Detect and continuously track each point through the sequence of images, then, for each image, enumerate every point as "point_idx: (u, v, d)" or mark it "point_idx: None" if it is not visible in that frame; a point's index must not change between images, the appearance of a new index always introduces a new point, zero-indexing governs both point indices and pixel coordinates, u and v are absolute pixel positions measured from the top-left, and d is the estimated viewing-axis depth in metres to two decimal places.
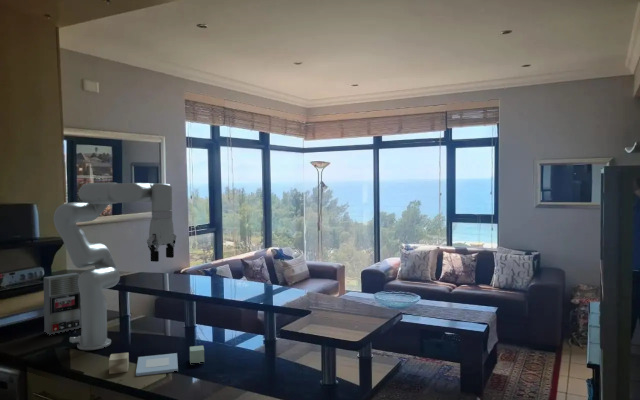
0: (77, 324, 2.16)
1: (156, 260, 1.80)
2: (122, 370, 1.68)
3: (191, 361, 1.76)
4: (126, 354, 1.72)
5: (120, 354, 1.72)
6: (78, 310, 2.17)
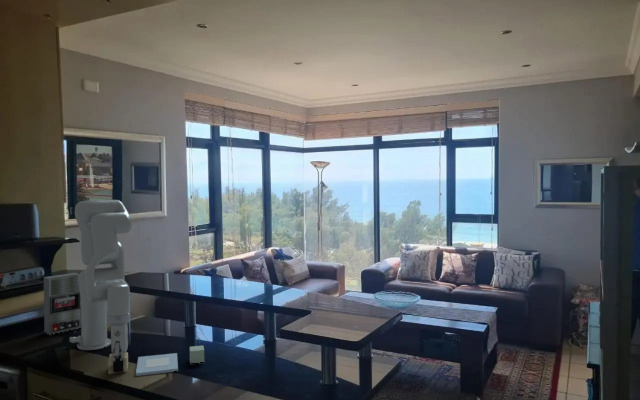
0: (77, 324, 2.16)
1: None
2: None
3: (191, 361, 1.76)
4: (125, 354, 1.72)
5: (119, 354, 1.72)
6: (78, 310, 2.17)
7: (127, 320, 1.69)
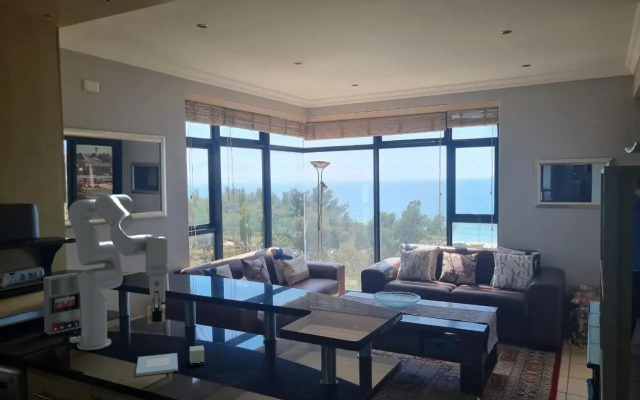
0: (77, 324, 2.16)
1: None
2: None
3: (191, 361, 1.76)
4: (163, 305, 1.76)
5: None
6: (78, 310, 2.17)
7: (165, 271, 1.72)
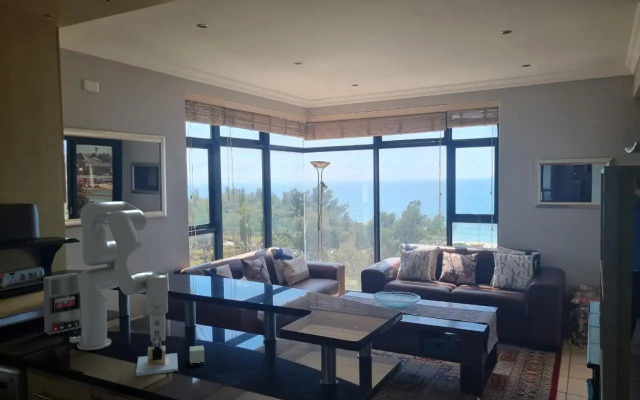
0: (77, 324, 2.16)
1: None
2: (160, 362, 1.72)
3: (191, 361, 1.76)
4: (163, 347, 1.76)
5: None
6: (78, 310, 2.17)
7: (165, 310, 1.73)
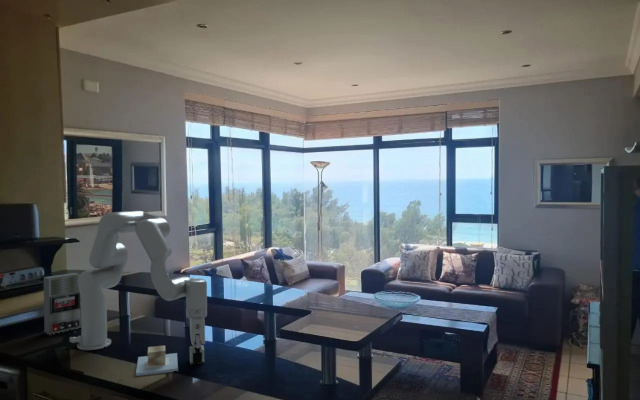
0: (77, 324, 2.16)
1: None
2: (160, 362, 1.72)
3: (191, 361, 1.76)
4: (163, 347, 1.76)
5: (157, 347, 1.76)
6: (78, 310, 2.17)
7: (205, 314, 1.77)
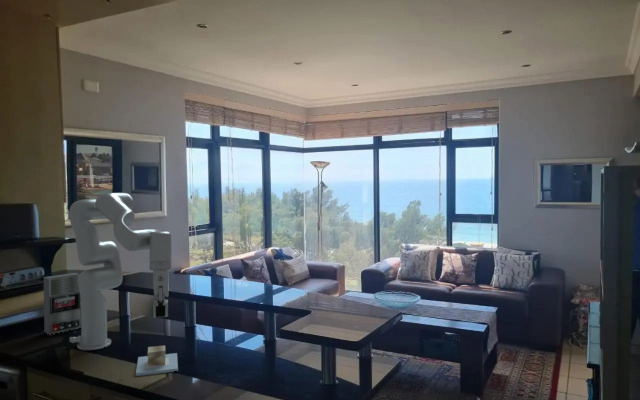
0: (77, 324, 2.16)
1: None
2: (160, 362, 1.72)
3: (154, 314, 1.72)
4: (163, 347, 1.76)
5: (157, 347, 1.76)
6: (78, 310, 2.17)
7: (169, 266, 1.73)
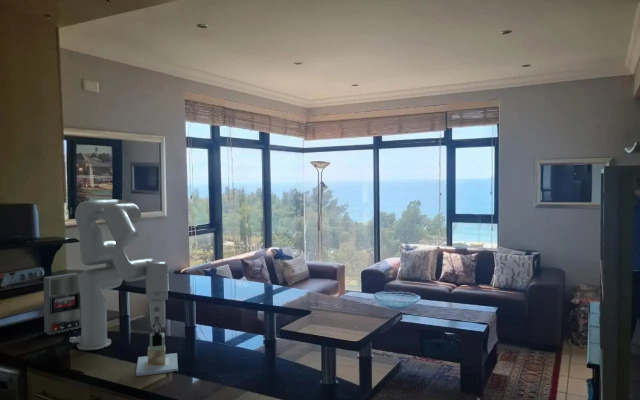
0: (77, 324, 2.16)
1: None
2: (160, 362, 1.72)
3: (151, 348, 1.72)
4: None
5: None
6: (78, 310, 2.17)
7: (165, 296, 1.73)
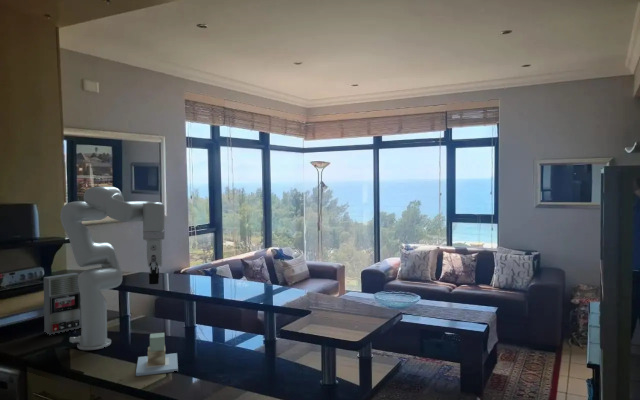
0: (77, 324, 2.16)
1: None
2: (160, 362, 1.72)
3: (151, 348, 1.72)
4: None
5: None
6: (78, 310, 2.17)
7: (162, 237, 1.75)
